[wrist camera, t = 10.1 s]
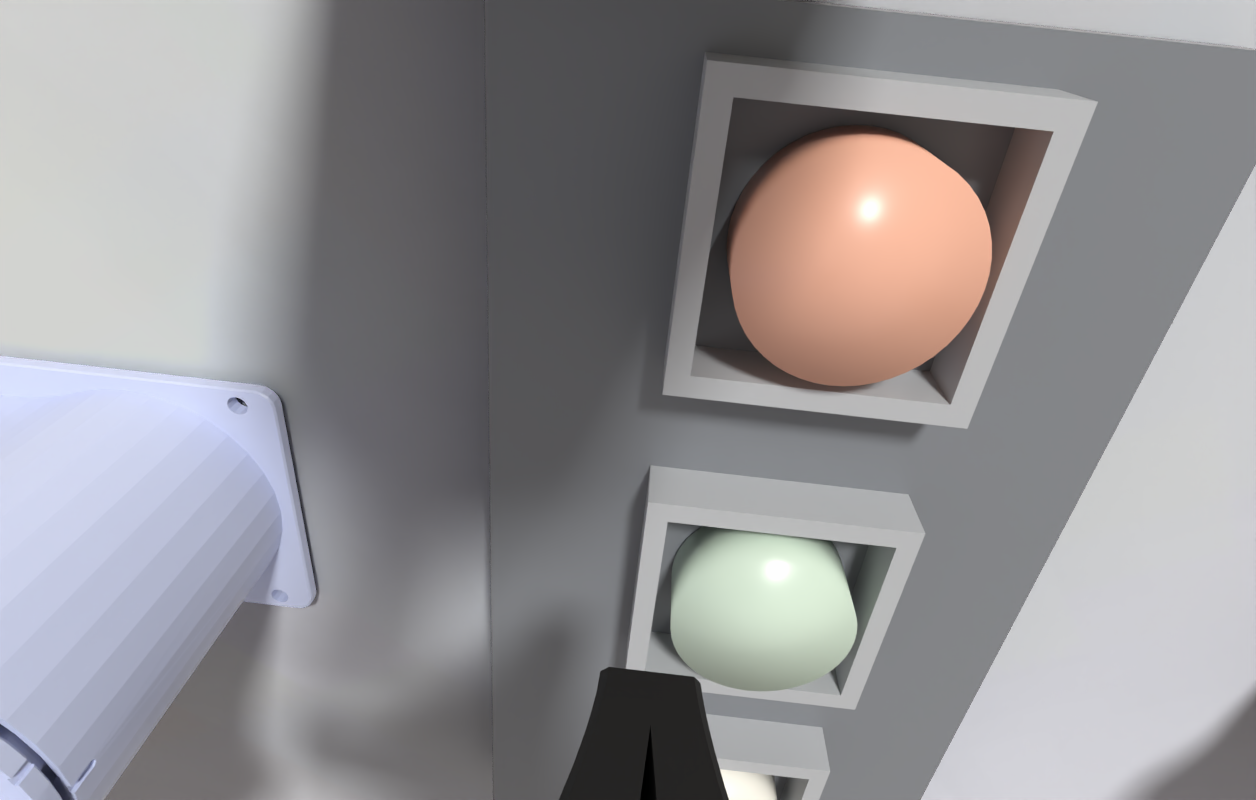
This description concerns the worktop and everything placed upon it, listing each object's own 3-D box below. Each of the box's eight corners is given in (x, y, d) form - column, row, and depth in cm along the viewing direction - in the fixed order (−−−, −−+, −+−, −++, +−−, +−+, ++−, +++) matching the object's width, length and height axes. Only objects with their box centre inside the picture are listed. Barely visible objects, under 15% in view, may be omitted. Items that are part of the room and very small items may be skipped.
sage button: (662, 625, 20) (660, 680, 18) (682, 501, 18) (683, 552, 16) (821, 644, 20) (832, 700, 18) (862, 521, 18) (879, 574, 16)
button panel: (505, 764, 27) (483, 860, 24) (508, -31, 14) (462, -32, 11) (873, 808, 27) (896, 908, 24) (1234, 46, 14) (1382, 65, 11)
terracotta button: (711, 332, 15) (714, 372, 14) (747, 112, 13) (756, 131, 11) (918, 355, 15) (944, 398, 14) (990, 138, 13) (1032, 161, 11)
